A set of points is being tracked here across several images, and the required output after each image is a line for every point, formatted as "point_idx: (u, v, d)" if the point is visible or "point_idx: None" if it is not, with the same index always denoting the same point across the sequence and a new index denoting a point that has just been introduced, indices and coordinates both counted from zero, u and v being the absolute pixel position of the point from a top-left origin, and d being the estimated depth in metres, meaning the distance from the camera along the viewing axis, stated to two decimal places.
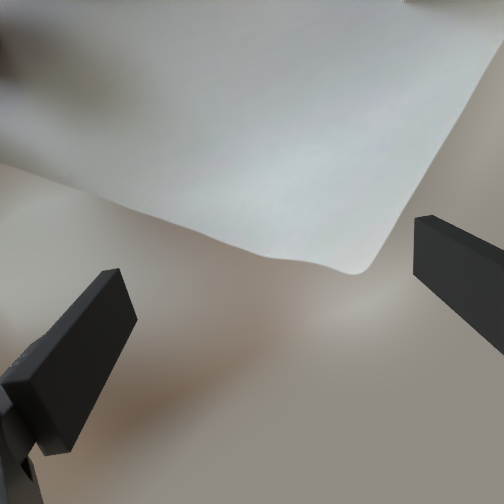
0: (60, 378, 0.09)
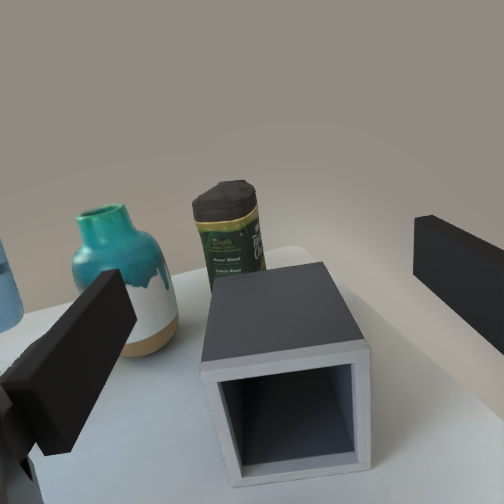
0: (60, 378, 0.09)
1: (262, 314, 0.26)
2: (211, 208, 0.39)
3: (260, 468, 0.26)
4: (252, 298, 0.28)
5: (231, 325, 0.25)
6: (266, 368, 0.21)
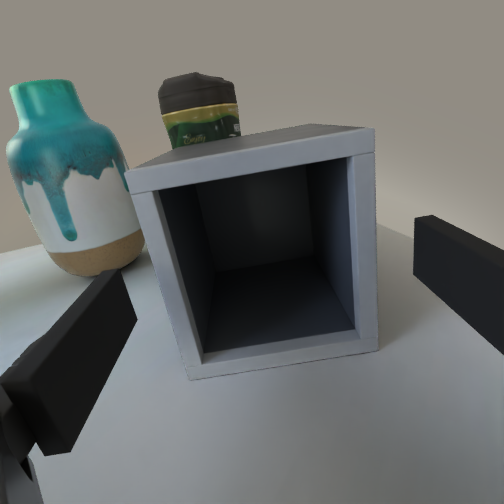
0: (60, 377, 0.09)
1: (227, 145, 0.19)
2: (179, 92, 0.33)
3: (227, 353, 0.19)
4: (218, 144, 0.21)
5: (184, 153, 0.18)
6: (222, 164, 0.14)
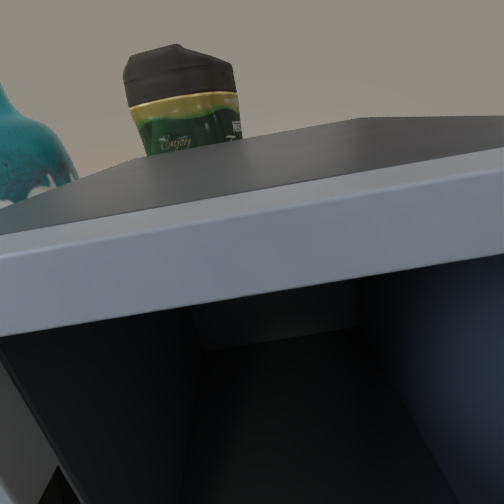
0: None
1: (213, 160, 0.08)
2: (152, 74, 0.22)
3: None
4: (197, 155, 0.11)
5: (106, 184, 0.08)
6: (170, 263, 0.03)
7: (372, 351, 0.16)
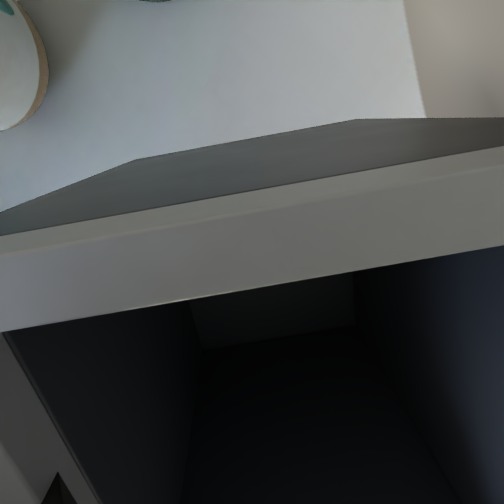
0: None
1: (214, 162, 0.09)
2: None
3: None
4: (197, 156, 0.11)
5: (111, 184, 0.08)
6: (181, 257, 0.04)
7: (369, 348, 0.17)
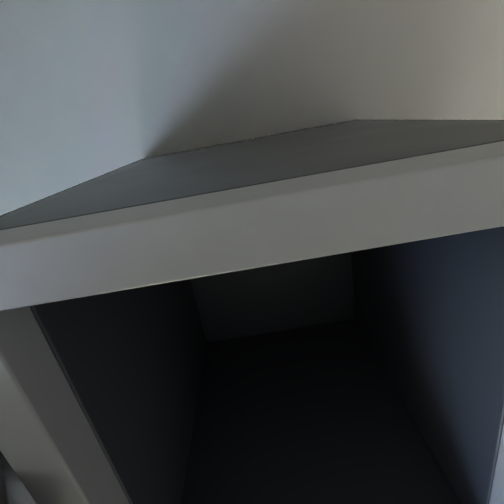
0: None
1: (218, 161, 0.09)
2: None
3: None
4: (203, 156, 0.12)
5: (124, 181, 0.09)
6: (189, 240, 0.04)
7: (368, 341, 0.17)
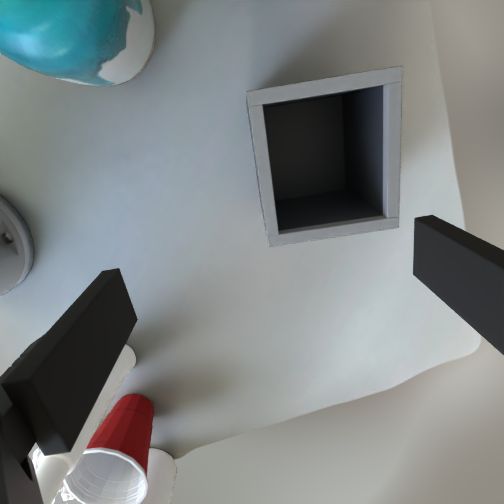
0: (60, 378, 0.09)
1: None
2: None
3: (294, 229, 0.27)
4: None
5: None
6: (307, 87, 0.23)
7: (351, 192, 0.36)
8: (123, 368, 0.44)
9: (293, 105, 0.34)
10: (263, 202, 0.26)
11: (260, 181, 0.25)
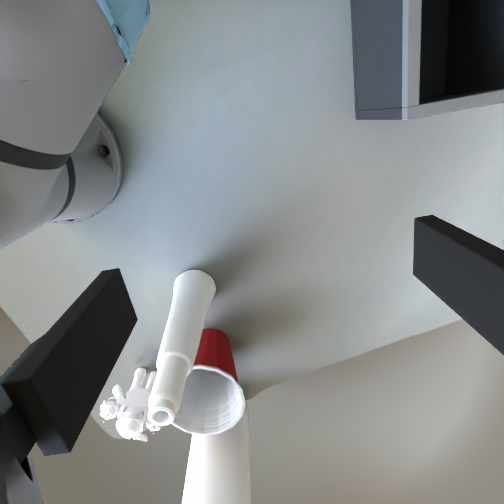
0: (61, 378, 0.09)
1: None
2: None
3: (432, 102, 0.27)
4: None
5: None
6: None
7: (455, 92, 0.35)
8: (209, 293, 0.44)
9: None
10: (408, 67, 0.26)
11: (409, 42, 0.25)
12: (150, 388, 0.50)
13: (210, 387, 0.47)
